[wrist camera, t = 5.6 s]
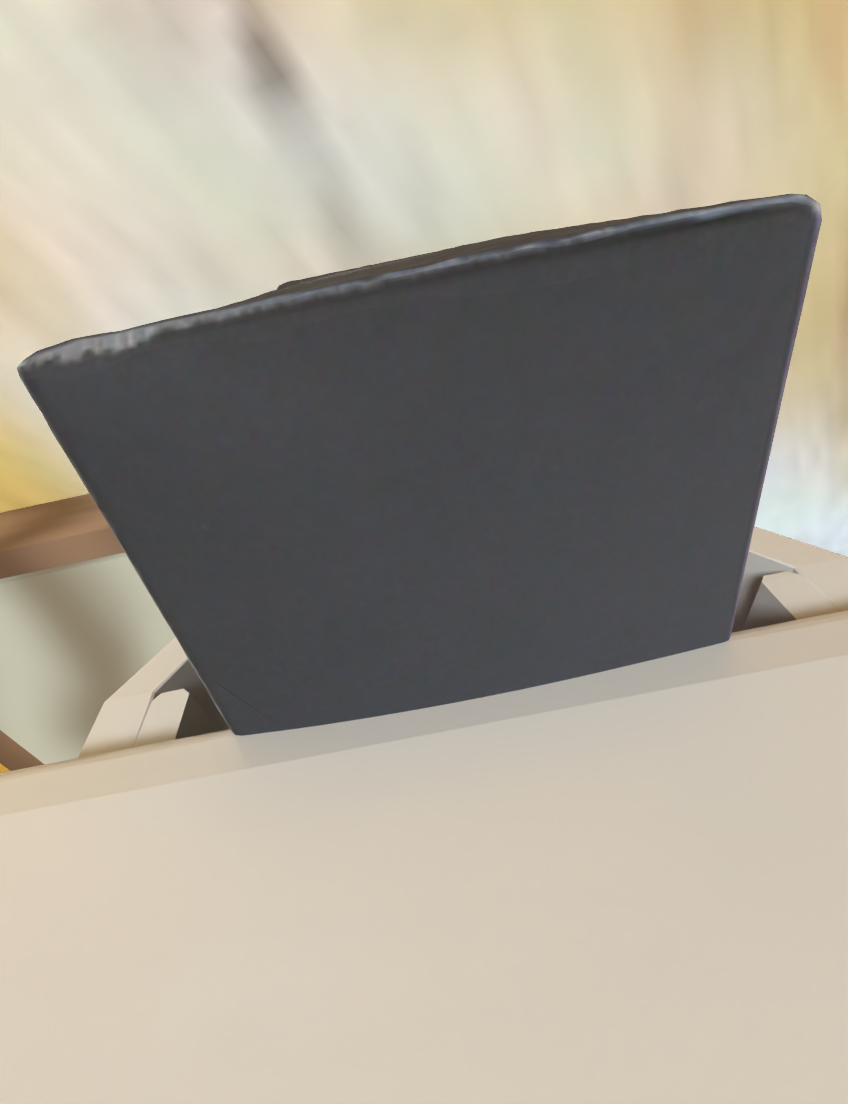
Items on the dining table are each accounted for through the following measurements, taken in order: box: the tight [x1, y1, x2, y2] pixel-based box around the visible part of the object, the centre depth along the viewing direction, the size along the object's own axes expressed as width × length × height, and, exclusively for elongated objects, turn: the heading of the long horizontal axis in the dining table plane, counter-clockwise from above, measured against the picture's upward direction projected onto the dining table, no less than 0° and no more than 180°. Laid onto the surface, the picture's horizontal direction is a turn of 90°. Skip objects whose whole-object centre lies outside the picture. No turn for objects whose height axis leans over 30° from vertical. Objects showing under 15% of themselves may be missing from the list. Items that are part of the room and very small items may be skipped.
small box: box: [17, 194, 822, 736], centre depth 10 cm, size 11×6×10 cm, turn 9°
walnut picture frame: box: [0, 494, 175, 771], centre depth 21 cm, size 14×16×3 cm
